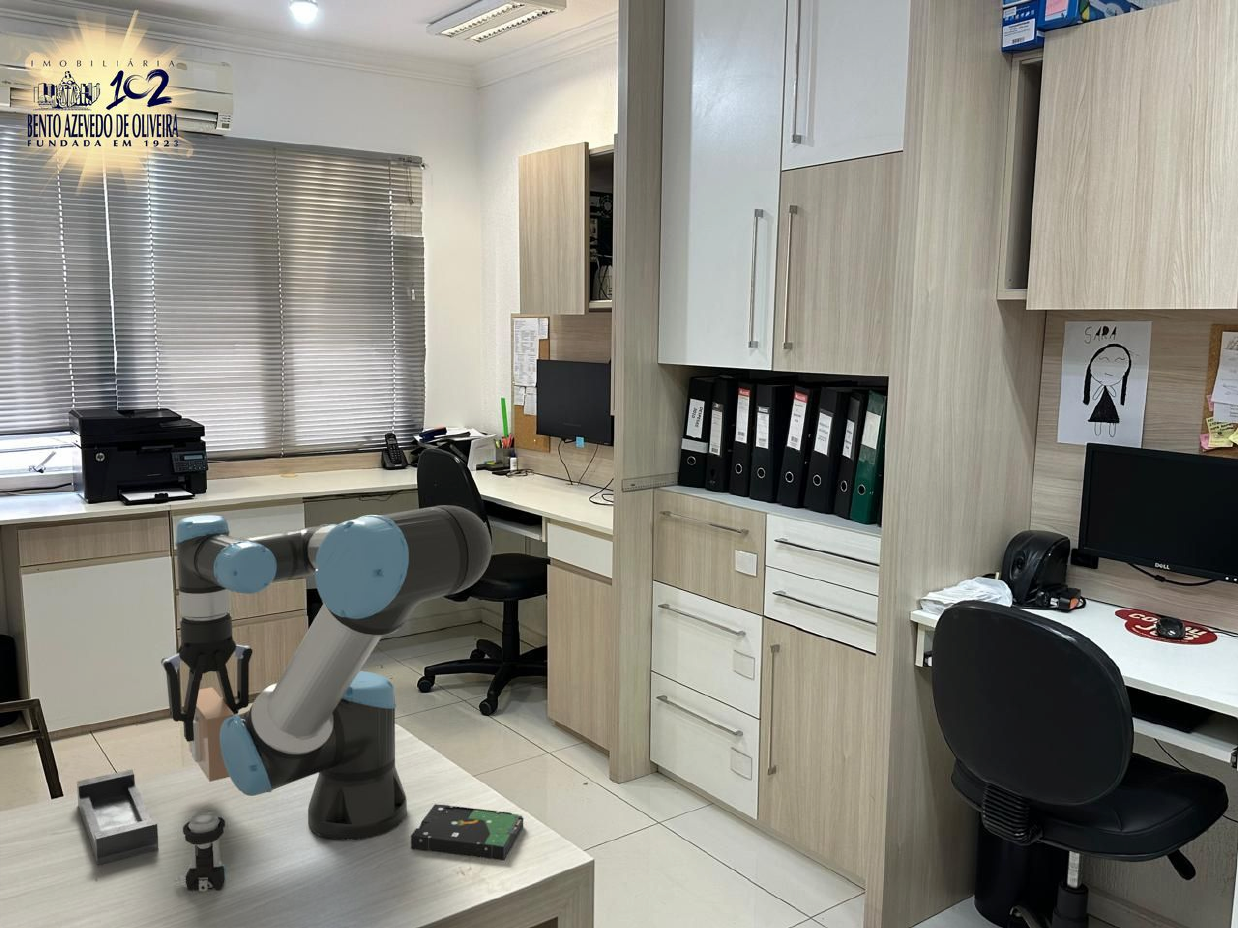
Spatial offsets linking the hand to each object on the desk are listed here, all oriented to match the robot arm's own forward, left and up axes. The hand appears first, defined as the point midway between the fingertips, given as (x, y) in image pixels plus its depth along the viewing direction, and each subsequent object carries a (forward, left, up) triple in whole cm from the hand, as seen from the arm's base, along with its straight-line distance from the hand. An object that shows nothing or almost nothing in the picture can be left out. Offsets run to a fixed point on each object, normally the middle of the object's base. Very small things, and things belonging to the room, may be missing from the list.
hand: (211, 754), depth 157 cm
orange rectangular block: (0, 0, -1) cm, 1 cm away
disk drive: (-32, -30, -9) cm, 44 cm away
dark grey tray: (0, +14, -8) cm, 16 cm away
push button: (-24, +7, -9) cm, 26 cm away
